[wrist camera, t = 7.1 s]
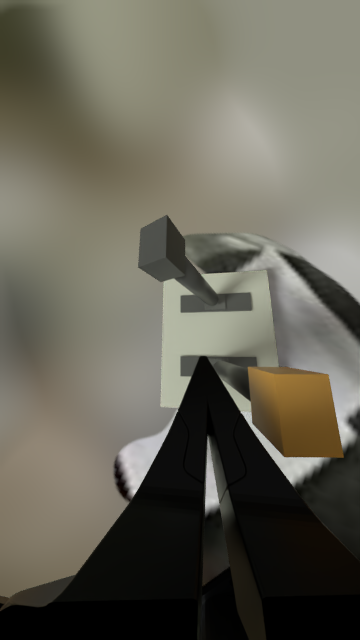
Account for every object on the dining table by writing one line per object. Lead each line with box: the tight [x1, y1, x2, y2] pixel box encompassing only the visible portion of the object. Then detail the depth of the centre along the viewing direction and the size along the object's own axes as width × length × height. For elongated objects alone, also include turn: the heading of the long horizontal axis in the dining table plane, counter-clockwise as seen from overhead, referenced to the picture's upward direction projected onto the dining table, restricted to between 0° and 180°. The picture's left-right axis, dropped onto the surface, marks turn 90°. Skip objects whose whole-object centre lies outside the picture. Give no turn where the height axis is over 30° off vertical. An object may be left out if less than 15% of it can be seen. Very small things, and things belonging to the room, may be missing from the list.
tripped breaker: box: [213, 361, 344, 457], centre depth 10 cm, size 2×2×11 cm
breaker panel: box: [138, 215, 279, 412], centre depth 13 cm, size 16×13×14 cm
